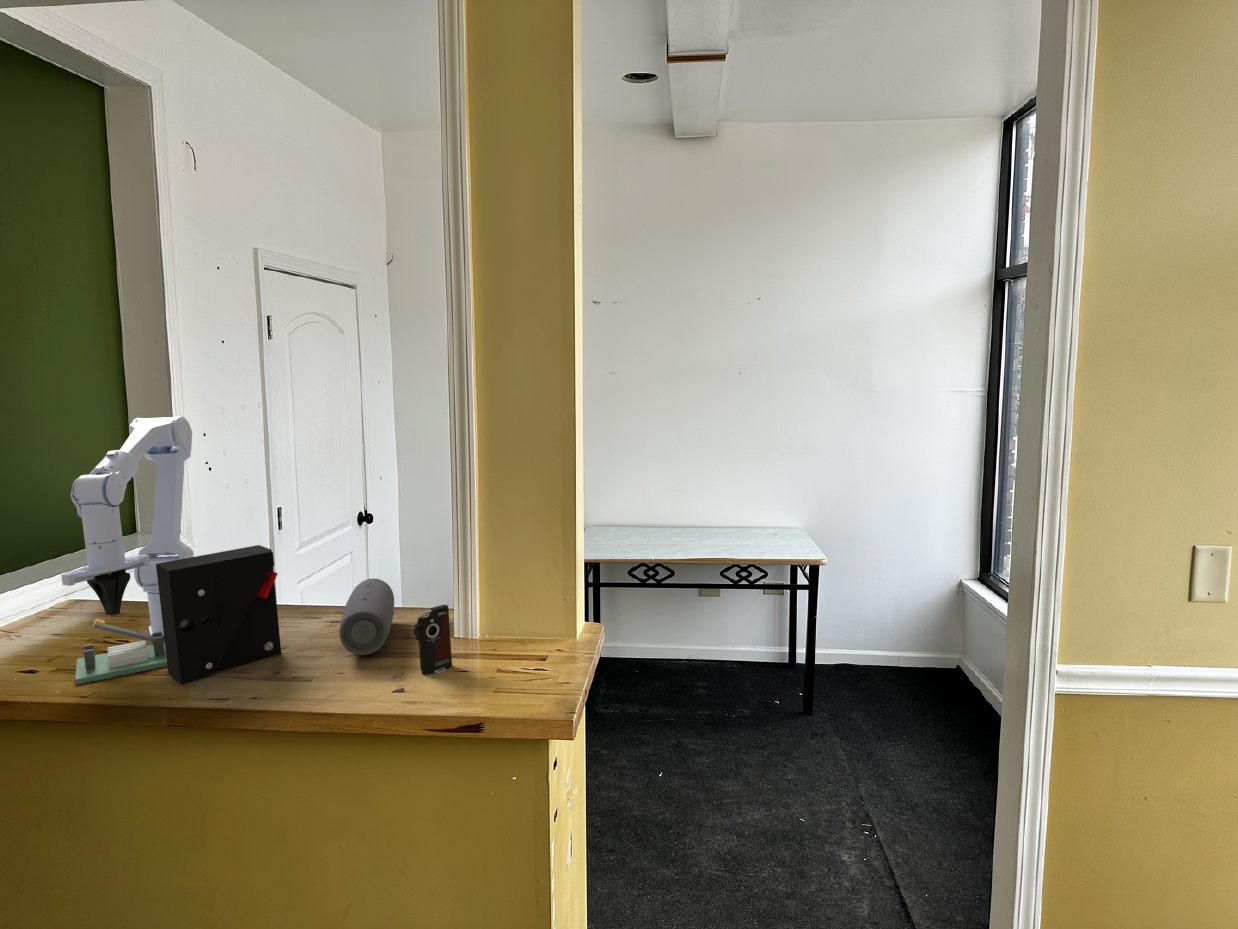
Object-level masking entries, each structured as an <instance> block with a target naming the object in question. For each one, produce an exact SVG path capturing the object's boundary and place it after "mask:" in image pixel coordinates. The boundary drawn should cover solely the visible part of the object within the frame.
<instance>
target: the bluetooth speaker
mask: <svg viewBox="0 0 1238 929" xmlns="http://www.w3.org/2000/svg"><path fill="white" fill-rule="evenodd" d="M394 613H395V595H394V592H393V589H392V588H391V586H390V585H389V584H388V583H387V582H386V581H385V580H382V579H379V578H368V579H364V580H363V581H361V582H360V583H358V584H357V585H356V586H355V587H354V589H353V590H352V591H351V594H350V595H349V597H348V599H347V602H346V603H345V606H344V609H343V612H342V614H341V615H342V616H341V619H340V624H339V628H338V629H339V641H340V642H341V644H342V646H343V648H345V650H346V651H348V652H349V653H351V654H352V655H353V654H354V655H359V656H365V655H370V654H373V653H375V652H377V651H378V650H380V649H381V648H382V646H383V645H384V644H385V642H386V640H387V639H388V636H389V633H390V630H391V628H392V627H391V626H392V624H393V619H394Z"/></svg>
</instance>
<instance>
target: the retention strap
mask: <svg viewBox="0 0 1238 929" xmlns="http://www.w3.org/2000/svg"><path fill="white" fill-rule="evenodd" d="M92 628H93V629H97V630H102V631H106V632H109V633H110V632H111V633H115V634H118V635H123V636H126V637H131V638H135V639H139V640H141V641H145V642H146V641H147V642H151V643H153V638H155V636H151V635H150V634H148V633H143V632H139V631H136V630H131V629H126V628H122V627H119V626H114V625H110V624H107V623H106V622H105V620H103V619H99V618H95V620H94V622H93V624H92Z"/></svg>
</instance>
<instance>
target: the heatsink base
mask: <svg viewBox="0 0 1238 929" xmlns="http://www.w3.org/2000/svg"><path fill="white" fill-rule="evenodd" d="M152 636H155V638H153V642H152V644H148V645H147V643H146V640H141V641H135V642H130V643H124V644H120V645H115V646H109V647H107V653H101V654H96V655H95V648H94V646H95V645H94V643H90V644H85V645H83V649H84V650H83V657H80V658H79V657H78V658H77V659H76V667H75V678H74V683H75V685H76V686H79V685H83V684H87V683H86V682H88V683H92V682H91V681H93V682H97V681H103V680H107V679H111V678H116V676H118V677H120V676H119V675H122V676H127V675H133V674H136V673H142V672H145V671H146V670H147V671H151V670H150V669H152V670H157V669H162V668H168V666H167V657H166V649H165V641H164V636H162V631H161V632H155V633H152ZM156 668H157V669H156ZM141 671H142V672H141Z"/></svg>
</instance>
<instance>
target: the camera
mask: <svg viewBox="0 0 1238 929" xmlns="http://www.w3.org/2000/svg"><path fill="white" fill-rule="evenodd" d="M449 611H450V610H449V605H447V604H441V605H437V606H433V607H430V609H429V610H426V611H422V612H420V613H419V615H418V616H419V617H417V622H416V623H415V624H414V626H413V627H414V628H413V635H414V639H415V640H416V641H418V643H417V645H418V648H419V649H418V650H419V653H418V654H419V664H420V665H419V666H420V667H419V668H420V670H421V675H425V676H427V675H430V674H433V673H435V674H440V673H443V672H445V671H446V669H449V668H451V667H453V661H452V660H453V658H452V643H451V627H450V612H449Z"/></svg>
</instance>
